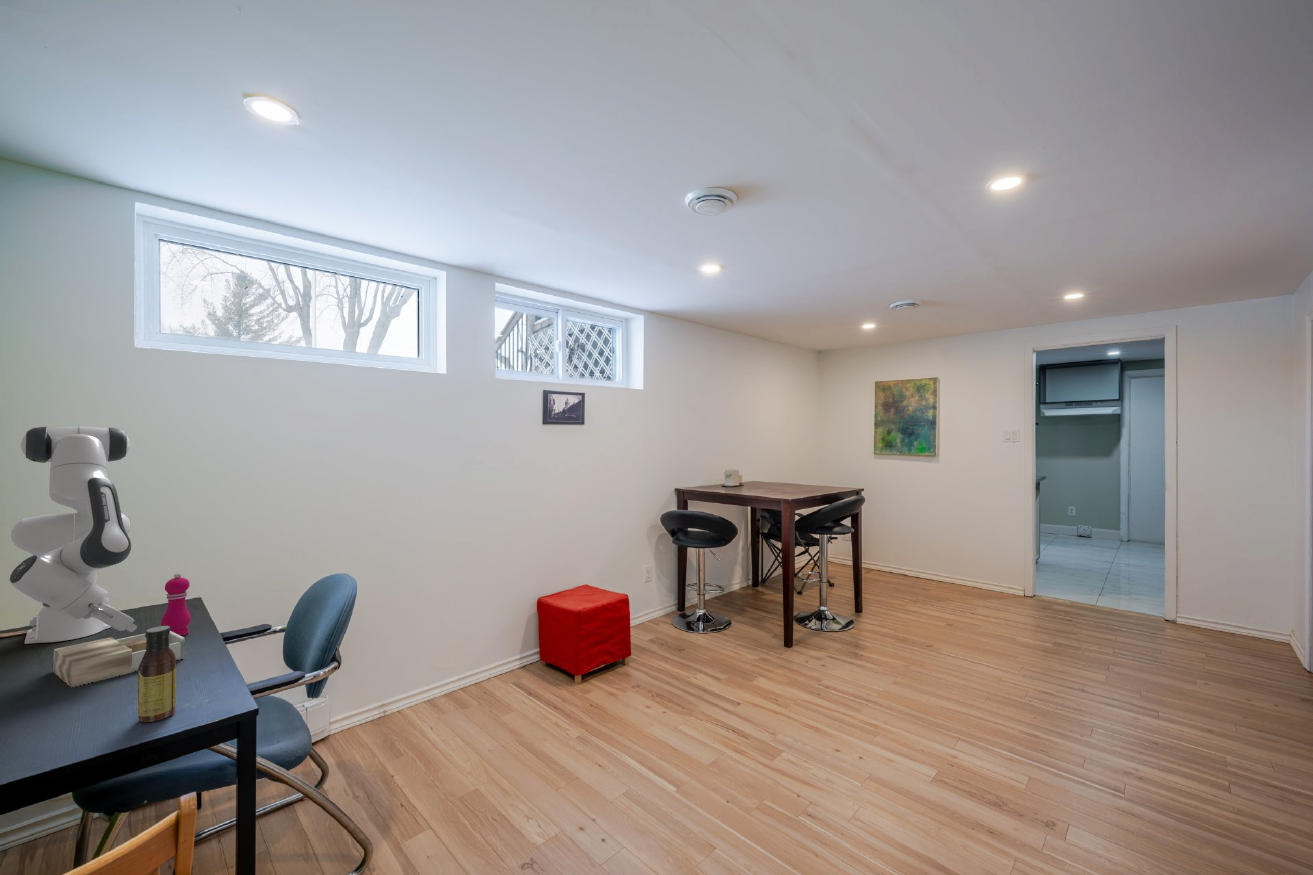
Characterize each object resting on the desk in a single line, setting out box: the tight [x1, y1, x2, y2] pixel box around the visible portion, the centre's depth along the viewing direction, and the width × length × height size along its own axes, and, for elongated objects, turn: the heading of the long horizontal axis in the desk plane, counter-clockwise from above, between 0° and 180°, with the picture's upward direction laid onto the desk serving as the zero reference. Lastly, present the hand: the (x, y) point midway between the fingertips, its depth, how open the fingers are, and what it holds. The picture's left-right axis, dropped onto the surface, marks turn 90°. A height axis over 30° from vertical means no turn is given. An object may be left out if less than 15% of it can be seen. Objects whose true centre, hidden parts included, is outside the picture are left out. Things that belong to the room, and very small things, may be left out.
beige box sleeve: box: [52, 636, 133, 689], centre depth 142 cm, size 18×11×6 cm, turn 58°
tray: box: [116, 631, 186, 673], centre depth 152 cm, size 18×11×6 cm, turn 58°
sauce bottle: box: [137, 625, 177, 723], centre depth 119 cm, size 7×6×20 cm
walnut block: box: [122, 637, 146, 653], centre depth 150 cm, size 5×5×8 cm
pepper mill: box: [160, 572, 192, 637], centre depth 171 cm, size 7×7×20 cm
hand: (133, 628), depth 149 cm, fingers closed
